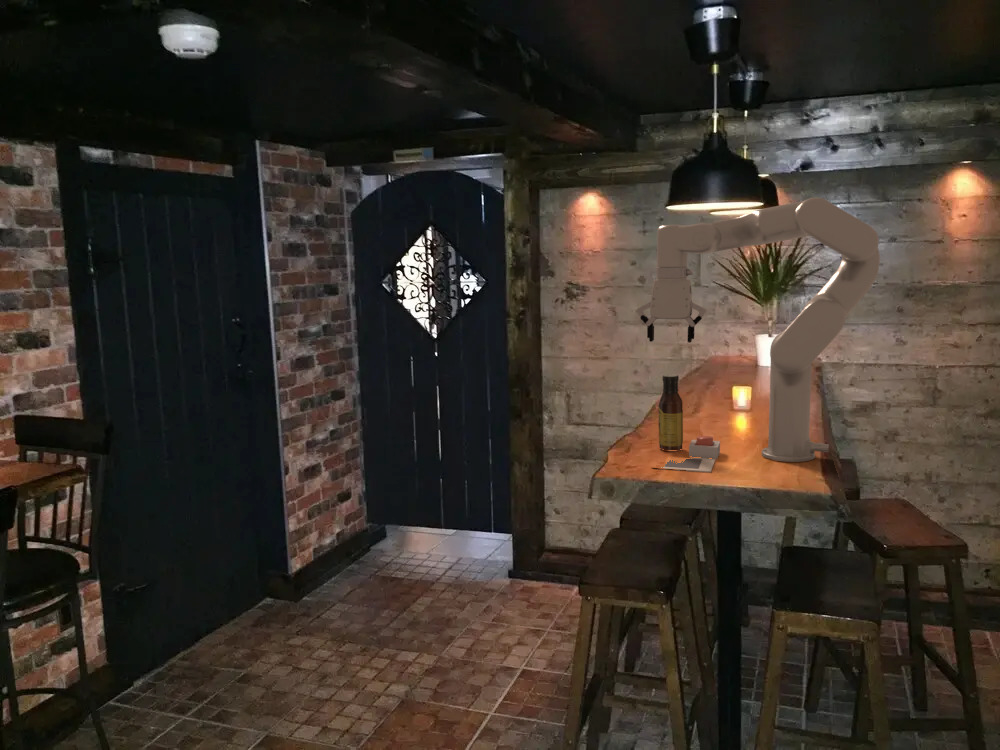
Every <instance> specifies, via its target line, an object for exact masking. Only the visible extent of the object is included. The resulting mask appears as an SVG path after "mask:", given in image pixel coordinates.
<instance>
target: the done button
mask: <svg viewBox="0 0 1000 750" xmlns="http://www.w3.org/2000/svg"><path fill="white" fill-rule="evenodd" d="M696 440H697V445H703V446H713V441H714V437H712V436H709V435H699V436H696Z"/></svg>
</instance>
